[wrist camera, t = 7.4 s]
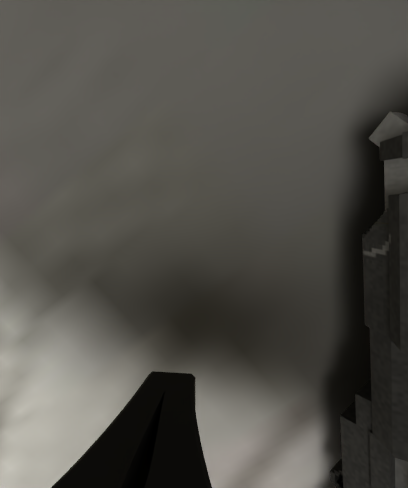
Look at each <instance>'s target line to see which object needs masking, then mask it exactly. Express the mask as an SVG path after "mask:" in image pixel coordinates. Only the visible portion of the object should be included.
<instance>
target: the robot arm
mask: <svg viewBox="0 0 408 488" xmlns="http://www.w3.org/2000/svg"><path fill="white" fill-rule="evenodd" d="M51 488H212V486H211V483H210V479H209V475H208V472H207V468H206V463H205V459H204V455H203V451H202V446H201V442H200V436H199V431H198V425H197V419H196V412H195V377H194V376H193V375H192V374H186V373H170V372H151V373H150V374H149V375H148V377H147V378H146V379H145V381H144V382H143V384H142V385H141V386H140V388H139V389H138V390H137V392H136V393H135V394H134V396H133V397H132V398H131V400H130V401H129V402H128V403H127V405H126V406H125V407H124V409H123V410H122V411H121V412H120V413H119V415H118V416H117V417H116V418H115V419H114V421H113V422H112V423H111V424H110V426H109V427H108V428H107V429H106V430H105V431H104V433H103V434H102V435H101V436H100V437H99V438H98V439H97V440H96V441H95V443H94V444H93V445H92V446H91V447H90V448H89V449H88V450H87V451H86V452H85V454H84V455H83V456H82V457H81V458H80V459H79V460H78V461H77V462H76V463H75V464H74V465H73V466H72V467H71V468H70V469H69V470H68V471H67V472H66V473H65V474H64V475H63V476H62V478H61V479H60V480H58V481H57V482H56V483H55V484H54V485H53V486H52V487H51Z"/></svg>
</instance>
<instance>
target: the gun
mask: <svg viewBox="0 0 408 488" xmlns="http://www.w3.org/2000/svg"><path fill="white" fill-rule="evenodd" d="M369 139H370V140H371V141H372V142H373V143H375V144H376V145H377V146H378V147H380V161H384V182H385V212H383V215H380V218H379V219H378V220H377V221H376V222H375V224H373V225H372V227H369V230H367V231H366V233H364V234H363V237H362V244H363V278H364V312H365V325H366V326H368V327H370V358H371V380H370V381H369V382H368V383H366V384H365V385H364V386H363V387H362V388H361V389H360V390H359V391H358V392H356V393H355V402H354V403H353V404H352V405H350V406H349V407H348V408H347V409H346V410H345V411H344V412H343V413H342V414H341V415H340V429H341V450H342V459H341V460H340V461H339V462H338V463H337V464H336V465H335V466H334V467H333V469H332V470H331V471H330V474H331V481H332V482H333V483H334V484H335V486H337V487H338V488H408V116H407V115H406V114H404V113H399V112H389V113H388V115H387V116H386V117H385V118H384V120H383V121H382V122H381V123H380V125H379V126H378V127H377V129H376V130H375V131H374V132H373V134H372V135H371V136H370V137H369Z"/></svg>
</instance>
